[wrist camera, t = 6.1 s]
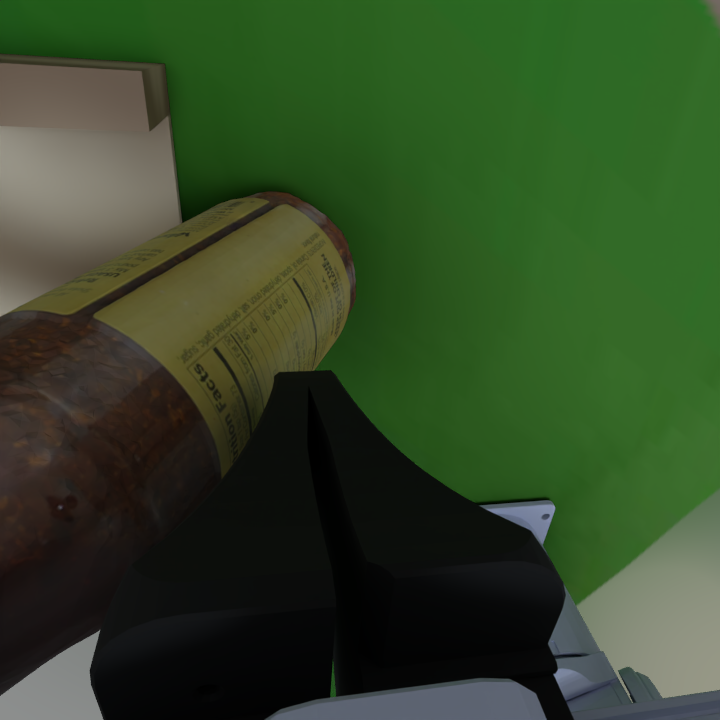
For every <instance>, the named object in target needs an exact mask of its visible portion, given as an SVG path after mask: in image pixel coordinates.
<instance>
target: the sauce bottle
mask: <svg viewBox="0 0 720 720" xmlns="http://www.w3.org/2000/svg"><path fill="white" fill-rule="evenodd" d="M355 283H356V279H355V269H354V264H353V260H352V254H351V252H350V251H349V247H348V242H347V240H346V238H345V236H344V234H343V233H342V231H341V230H340V229H339V228H338V227H337V226H336V225H335V224H334V223H333V222H332V221H331V220H330V219H329V218H328V217H327V216H326V215H325V214H323V213H321V212H320V211H319V210H317V209H316V208H315V207H313V206H312V205H310V204H309V203H306V202H304V201H302V200H301V199H299V198H298V197H295V196H293V195H291V194H290V193H283V192H272V191H269V192H263V193H256V194H254V195H251V196H247V197H244V198H240V199H233V200H229V201H226V202H223V203H220V204H218V205H216V206H214V207H212V208H210V209H208V210H207V211H205V212H203V213H201V214H199V215H197V216H195V217H193V218H191V219H189V220H187V221H186V222H184V223H182V224H180V225H178V226H176V227H174V228H172V229H170V230H168V231H166V232H164V233H162V234H160V235H158V236H156V237H155V238H153V239H151V240H149V241H147V242H145V243H143V244H141V245H139V246H137V247H135V248H133V249H131V250H129V251H127V252H125V253H123V254H122V255H120V256H118V257H116V258H114V259H112V260H110V261H108V262H106V263H104V264H102V265H100V266H98V267H96V268H94V269H92V270H90V271H88V272H86V273H84V274H83V275H81V276H79V277H77V278H75V279H73V280H71V281H69V282H67V283H65V284H63V285H61V286H59V287H57V288H55V289H53V290H51V291H49V292H47V293H45V294H43V295H41V296H39V297H37V298H35V299H33V300H31V301H29V302H27V303H25V304H23V305H21V306H19V307H17V308H16V309H14V310H12V311H10V312H8V313H6V314H4V315H2V316H1V317H0V696H1V695H2V694H3V693H5V692H6V691H7V690H9V689H10V688H11V687H13V686H14V685H15V684H17V683H18V682H20V681H21V680H22V679H24V678H25V677H26V676H28V675H29V674H30V673H32V672H33V671H35V670H36V669H37V668H39V667H40V666H41V665H43V664H44V663H46V662H47V661H49V660H50V659H52V658H53V657H55V656H56V655H58V654H59V653H61V652H63V651H64V650H66V649H67V648H69V647H71V646H73V645H74V644H76V643H78V642H80V641H82V640H83V639H85V638H87V637H89V636H91V635H92V634H94V633H96V632H98V631H99V630H100V629H101V627H102V624H103V621H104V618H105V616H106V614H107V611H108V609H109V606H110V604H111V601H112V599H113V597H114V595H115V592H116V590H117V588H118V586H119V584H120V582H121V580H122V578H123V576H124V574H125V572H126V570H127V569H128V567H129V566H130V565H131V564H133V563H134V562H135V561H137V560H138V559H139V558H141V557H142V556H143V555H144V554H146V553H147V552H148V551H149V550H151V549H152V548H153V547H154V546H155V545H157V544H158V543H159V542H160V541H162V540H163V539H164V538H165V537H166V536H168V535H169V534H170V533H171V532H172V531H173V530H174V529H175V528H176V527H177V526H178V525H179V524H180V523H181V522H182V521H183V520H184V519H185V518H186V517H187V516H189V515H190V514H191V513H192V512H193V511H194V510H195V509H196V508H197V507H198V506H199V505H200V504H201V502H202V501H203V500H204V499H205V498H206V497H207V496H208V495H209V494H210V492H211V491H212V490H213V489H214V488H215V486H216V485H217V484H218V483H219V482H220V480H221V479H222V478H223V477H224V475H225V474H226V473H227V471H228V470H229V469H230V467H231V466H232V465H233V463H234V462H235V460H236V459H237V457H238V456H239V454H240V453H241V451H242V450H243V448H244V447H245V445H246V443H247V441H248V440H249V438H250V436H251V434H252V433H253V431H254V429H255V427H256V426H257V424H258V422H259V420H260V417H261V415H262V413H263V411H264V409H265V407H266V404H267V402H268V399H269V396H270V394H271V391H272V387H273V383H274V376H275V375H276V374H277V373H278V372H292V371H314V370H315V369H316V367H317V366H318V364H319V363H320V362H321V360H322V359H323V358H324V356H325V355H326V354H327V352H328V351H329V349H330V348H331V347H332V345H333V344H334V343H335V341H336V340H337V338H338V337H339V335H340V334H341V332H342V330H343V328H344V325H345V323H346V320H347V317H348V314H349V313H350V311H351V309H352V307H353V305H354V302H355V297H356V285H355Z"/></svg>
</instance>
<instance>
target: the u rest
mask: <svg viewBox="0 0 720 720" xmlns="http://www.w3.org/2000/svg"><path fill="white" fill-rule="evenodd" d="M180 224H182V215H181V206H180V197H179V188H178V179H177V170H176V161H175V152H174V143H173V134H172V125H171V116H170V107H169V98H168V89H167V80H166V71H165V64H160V63H143V62H127V61H110V60H94V59H78V58H61V57H45V56H28V55H12V54H0V317H1V316H2V315H4V314H6V313H8V312H10V311H12V310H14V309H16V308H17V307H19V306H21V305H23V304H25V303H27V302H29V301H31V300H33V299H35V298H37V297H39V296H41V295H43V294H45V293H47V292H49V291H51V290H53V289H55V288H57V287H59V286H61V285H63V284H65V283H67V282H69V281H71V280H73V279H75V278H77V277H79V276H81V275H83V274H84V273H86V272H88V271H90V270H92V269H94V268H96V267H98V266H100V265H102V264H104V263H106V262H108V261H110V260H112V259H114V258H116V257H118V256H120V255H122V254H123V253H125V252H127V251H129V250H131V249H133V248H135V247H137V246H139V245H141V244H143V243H145V242H147V241H149V240H151V239H153V238H155V237H156V236H158V235H160V234H162V233H164V232H166V231H168V230H170V229H172V228H174V227H176V226H178V225H180Z"/></svg>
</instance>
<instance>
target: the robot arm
mask: <svg viewBox="0 0 720 720" xmlns="http://www.w3.org/2000/svg"><path fill="white" fill-rule="evenodd" d="M554 511H555V506H554V504H553V503H552V501H549V500H544V501H531V502H518V503H505V504H491V505H477V504H475V503H474V502H472V501H470V500H468V499H467V498H465V497H463V496H461V495H460V494H458V493H456V492H455V491H453V490H452V489H450V488H448V487H447V486H445V485H444V484H442V483H441V482H439V481H438V480H437V479H435V478H434V477H432V476H431V475H429V474H428V473H426V472H425V471H424V470H422V469H421V468H420V467H418V466H417V465H416V464H415V463H413V462H412V461H411V460H410V459H409V458H407V457H406V456H405V455H404V454H403V453H401V452H400V451H399V450H398V449H397V448H396V447H395V446H394V445H393V444H392V443H391V442H390V441H389V440H388V439H387V438H386V437H385V436H384V435H383V434H382V433H381V432H380V431H379V430H378V429H377V428H376V427H375V426H374V424H373V423H372V422H371V421H370V420H369V419H368V418H367V416H366V415H365V414H364V413H363V412H362V410H361V409H360V408H359V407H358V406H357V404H356V403H355V402H354V401H353V399H352V398H351V397H350V395H349V394H348V393H347V391H346V390H345V388H344V387H343V385H342V384H341V383H340V381H339V380H338V378H337V376H336V375H335V374H334V373H333V372H332V371H331V370H326V371H292V372H278V373H277V374H276V375H275V376H274V383H273V387H272V391H271V394H270V396H269V399H268V402H267V404H266V407H265V409H264V411H263V413H262V415H261V417H260V420H259V422H258V424H257V426H256V427H255V429H254V431H253V433H252V434H251V436H250V438H249V440H248V441H247V443H246V445H245V447H244V448H243V450H242V451H241V453H240V454H239V456H238V457H237V459H236V460H235V462H234V463H233V465H232V466H231V467H230V469H229V470H228V471H227V473H226V474H225V475H224V477H223V478H222V479H221V480H220V482H219V483H218V484H217V485H216V486H215V488H214V489H213V490H212V491H211V492H210V494H209V495H208V496H207V497H206V498H205V499H204V500H203V501H202V502H201V504H200V505H199V506H198V507H197V508H196V509H195V510H194V511H193V512H192V513H191V514H190V515H189V516H187V517H186V518H185V519H184V520H183V521H182V522H181V523H180V524H179V525H178V526H177V527H176V528H175V529H174V530H173V531H172V532H171V533H170V534H169V535H168V536H166V537H165V538H164V539H163V540H162V541H160V542H159V543H158V544H157V545H155V546H154V547H153V548H152V549H151V550H149V551H148V552H147V553H146V554H144V555H143V556H142V557H141V558H139V559H138V560H137V561H135V562H134V563H133V564H131V565H130V566H129V567H128V569H127V570H126V572H125V574H124V576H123V578H122V580H121V582H120V584H119V586H118V588H117V590H116V592H115V595H114V597H113V599H112V601H111V604H110V606H109V609H108V611H107V614H106V616H105V618H104V621H103V624H102V627H101V630H100V634H99V637H98V641H97V645H96V649H95V652H94V656H93V661H92V664H91V668H90V678H91V686H92V688H93V691H94V694H95V697H96V700H97V702H98V705H99V708H100V711H101V714H102V716H103V719H104V720H720V690H717V691H710V692H703V693H696V694H690V695H683V696H676V697H669V698H662V696H661V695H660V693H659V692H658V690H657V689H656V687H655V686H654V684H653V683H652V682H651V680H650V679H649V678H648V677H647V676H645V675H643V674H641V673H638V672H635V671H634V670H633V669H632V668H630V667H626V668H623V669H621V670H618V672H619V674H620V676H621V678H622V680H623V682H624V684H625V686H626V688H627V690H628V691H629V693H630V697H631V699H632V701H633V703H632V702H631V700H630V699H629V697H628V695H627V693H626V692H625V690H624V688H623V686H622V685H621V683H620V681H619V679H618V677H617V676H616V674H615V672H614V670H613V668H612V666H611V665H610V663H609V661H608V659H607V657H606V656H605V654H604V652H603V651H600V649H599V647H598V646H597V644H596V642H595V640H594V638H593V637H592V635H591V633H590V631H589V629H588V627H587V626H586V624H585V622H584V620H583V618H582V616H581V615H580V613H579V611H578V609H577V607H576V605H575V604H574V602H573V600H572V598H571V596H570V594H569V593H568V591H567V589H566V587H565V585H564V583H563V581H562V580H561V578H560V576H559V574H558V572H557V571H556V569H555V567H554V565H553V563H552V561H551V560H550V558H549V556H548V554H547V552H546V551H545V549H544V547H543V543H544V540H545V537H546V534H547V531H548V528H549V526H550V523H551V520H552V517H553V514H554ZM332 662H334V675H335V687H336V697H332V698H330V692H331V677H332Z"/></svg>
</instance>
